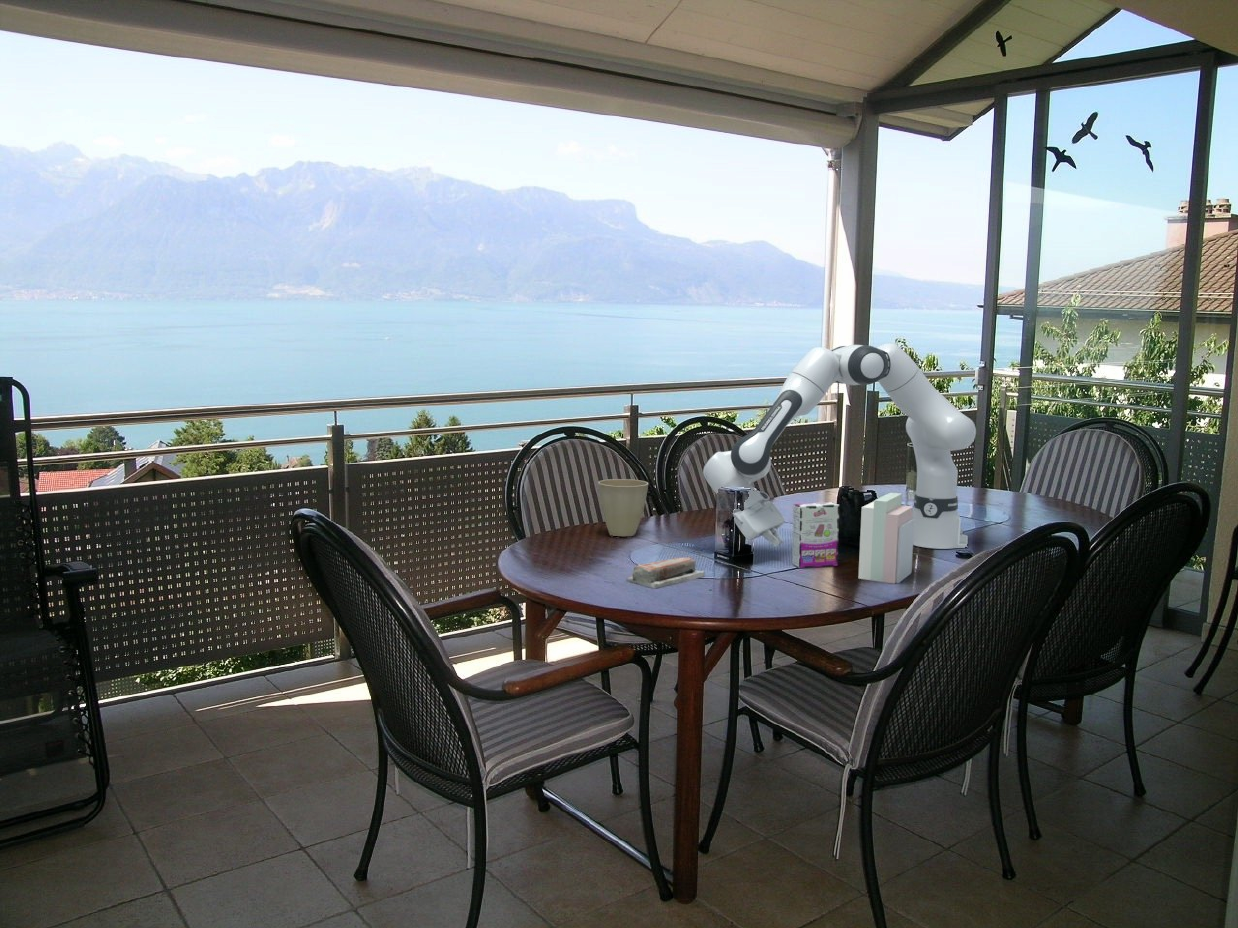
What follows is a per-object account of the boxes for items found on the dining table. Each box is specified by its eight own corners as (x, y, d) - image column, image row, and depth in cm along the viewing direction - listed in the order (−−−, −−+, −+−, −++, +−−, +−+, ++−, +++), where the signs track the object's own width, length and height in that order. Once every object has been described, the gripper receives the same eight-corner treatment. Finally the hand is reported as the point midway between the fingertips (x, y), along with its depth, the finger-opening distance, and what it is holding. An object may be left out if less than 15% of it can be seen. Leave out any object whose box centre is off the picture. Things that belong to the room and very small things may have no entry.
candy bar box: (829, 562, 257) (831, 501, 255) (838, 566, 252) (840, 504, 250) (790, 564, 254) (792, 502, 252) (798, 568, 249) (801, 506, 247)
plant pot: (647, 541, 280) (648, 486, 278) (596, 540, 281) (597, 486, 278) (647, 530, 295) (648, 478, 293) (598, 529, 295) (599, 478, 293)
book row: (875, 567, 252) (878, 491, 249) (912, 572, 247) (916, 495, 244) (858, 578, 240) (862, 499, 237) (897, 584, 235) (901, 503, 232)
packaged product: (655, 570, 228) (625, 563, 235) (654, 590, 228) (625, 582, 236) (706, 559, 240) (676, 552, 247) (705, 578, 241) (676, 570, 248)
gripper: (738, 503, 251) (772, 544, 247) (769, 492, 268) (801, 530, 265) (722, 518, 254) (755, 559, 250) (753, 506, 271) (785, 544, 268)
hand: (779, 544), depth 258 cm, fingers closed
